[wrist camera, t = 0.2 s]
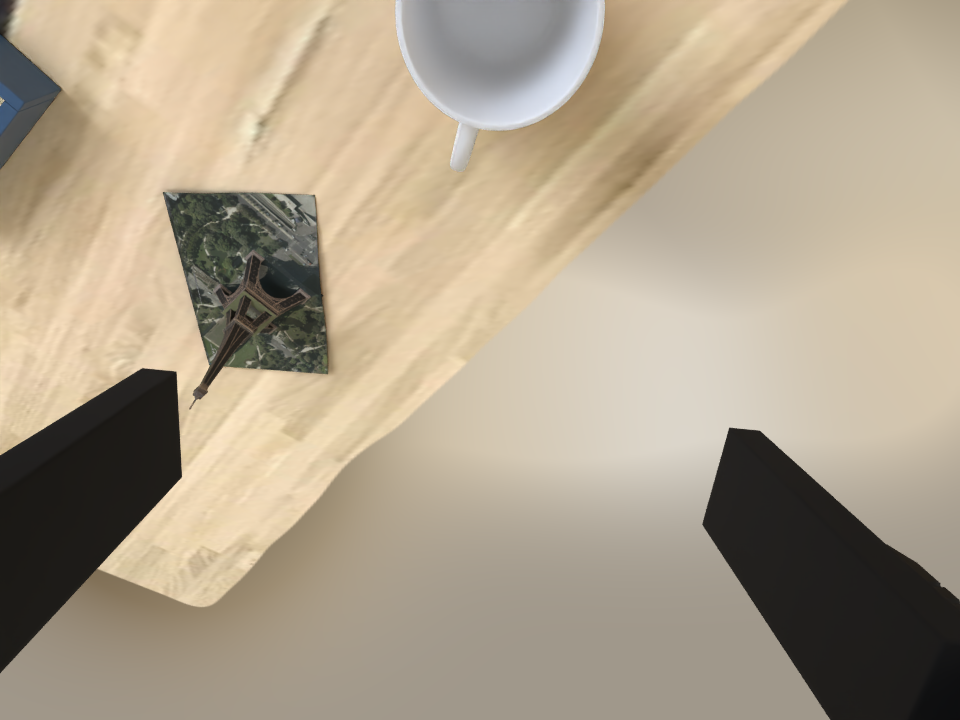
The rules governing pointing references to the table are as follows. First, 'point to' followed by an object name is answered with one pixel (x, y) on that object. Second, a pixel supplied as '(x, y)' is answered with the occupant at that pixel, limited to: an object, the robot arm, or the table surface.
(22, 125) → the rectangular frame
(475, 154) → the table surface
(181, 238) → the eiffel tower figurine
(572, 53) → the mug
